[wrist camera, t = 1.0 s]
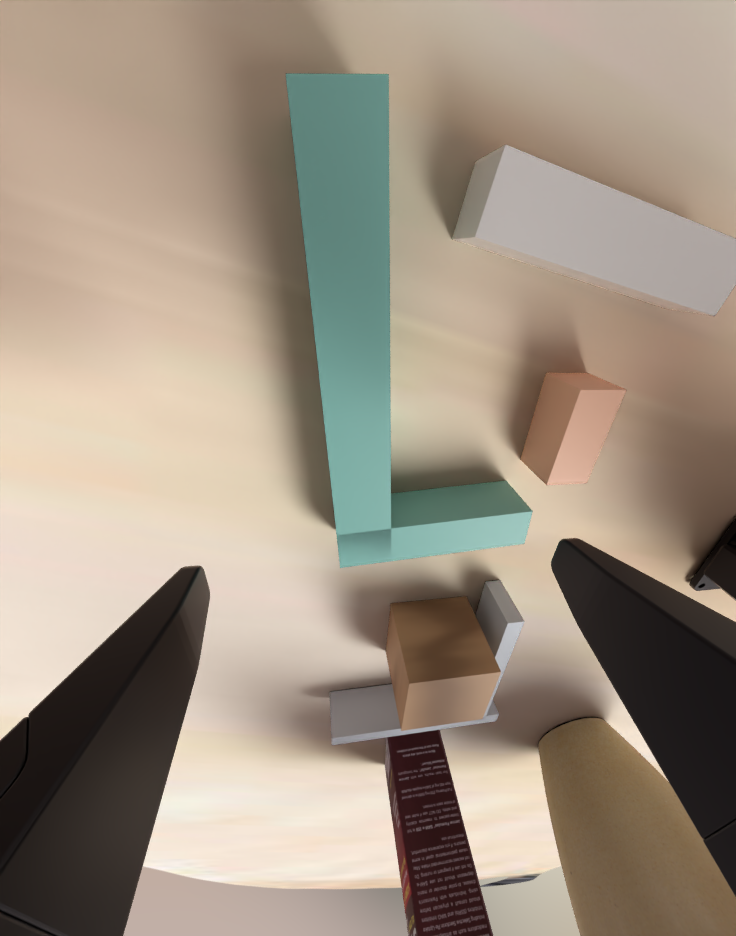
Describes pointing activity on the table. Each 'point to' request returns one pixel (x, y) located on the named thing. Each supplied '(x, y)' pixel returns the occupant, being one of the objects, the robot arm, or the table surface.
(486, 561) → the table surface
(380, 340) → the crook
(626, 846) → the plant pot
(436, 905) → the supplement box
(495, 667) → the block
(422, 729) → the gray angle bracket
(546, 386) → the offcut
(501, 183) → the stick
